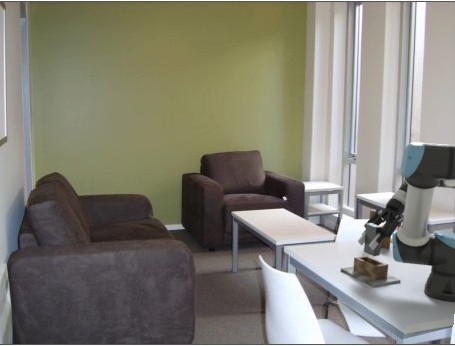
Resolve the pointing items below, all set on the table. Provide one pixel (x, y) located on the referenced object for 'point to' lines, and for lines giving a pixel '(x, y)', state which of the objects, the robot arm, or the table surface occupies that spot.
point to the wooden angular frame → (386, 241)
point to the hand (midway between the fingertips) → (365, 245)
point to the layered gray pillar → (372, 238)
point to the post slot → (370, 271)
